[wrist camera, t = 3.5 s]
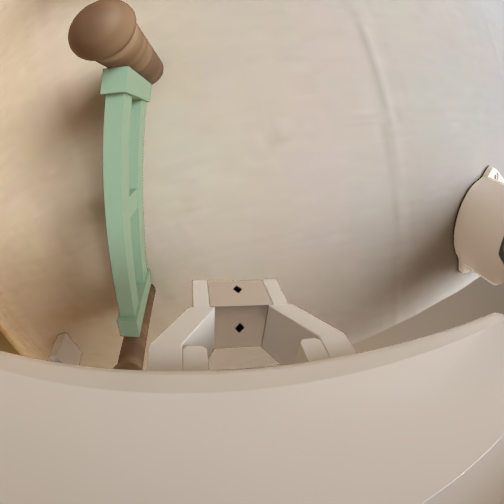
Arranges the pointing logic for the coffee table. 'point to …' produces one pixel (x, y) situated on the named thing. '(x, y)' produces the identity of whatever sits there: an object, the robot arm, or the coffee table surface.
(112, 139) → the gate
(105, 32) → the gate posts
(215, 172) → the coffee table surface
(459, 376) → the robot arm
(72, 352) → the lighter
